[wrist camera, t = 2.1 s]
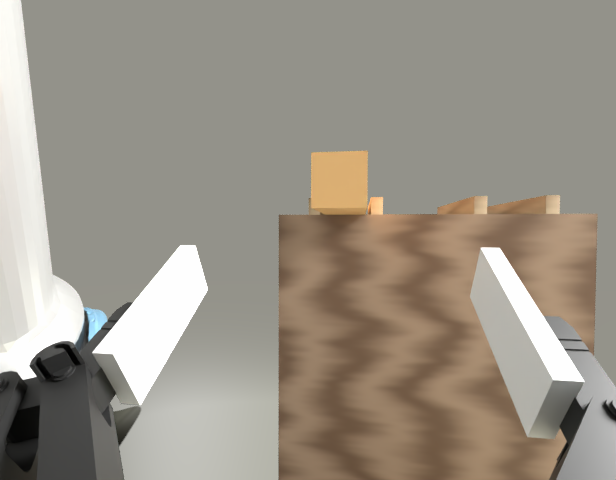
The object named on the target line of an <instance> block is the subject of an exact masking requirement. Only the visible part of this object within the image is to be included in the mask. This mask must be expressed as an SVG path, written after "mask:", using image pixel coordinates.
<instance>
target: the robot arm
mask: <svg viewBox="0 0 616 480" xmlns="http://www.w3.org/2000/svg"><path fill="white" fill-rule="evenodd" d="M28 68H29V67H28V59H27V50H26V42H25V33H24V24H23V16H22V8H21V0H0V480H124V475H123V469H122V463H121V457H120V451H119V445H118V438H117V432H116V426H115V420H114V414H113V408H112V406H111V405H110V402H111V400H112V399H113V397H114V396H115V394H116V395H117V397H118V399H119V401H120V402H121V404H129V405H141V403H142V402H143V400H144V398H145V397H146V395H147V393H148V391H149V390H150V388H151V386H152V384H153V383H154V381H155V379H156V378H157V376H158V374H159V373H160V371H161V369H162V367H163V366H164V364H165V362H166V360H167V359H168V357H169V355H170V354H171V352H172V350H173V348H174V347H175V345H176V343H177V342H178V340H179V338H180V336H181V335H182V333H183V331H184V329H185V328H186V326H187V324H188V323H189V321H190V319H191V317H192V316H193V314H194V312H195V311H196V309H197V307H198V305H199V304H200V302H201V300H202V299H203V297H204V295H205V293H206V292H207V290H208V289H207V285H206V282H205V278H204V275H203V271H202V268H201V264H200V260H199V257H198V253H197V250H196V246H194V245H181V246H180V247H179V248H178V249H177V250H176V252H175V253H174V254H173V255H172V256H171V258H170V259H169V260H168V261H167V262H166V264H165V265H164V266H163V267H162V269H161V270H160V271H159V272H158V273H157V275H156V276H155V277H154V278H153V279H152V281H151V282H150V283H149V284H148V286H147V287H146V288H145V289H144V290H143V292H142V293H141V294H140V295H139V297H138V298H137V299H136V300H135V301H134V303H126V304H124V305H123V306H122V307H120V308H119V309H117V310H116V311H115V312H114V313H113V314H112V316H111V317H110V318H109V319H108V321H107V317H106V315H105V313H104V312H102V311H101V310H94V309H90V308H83V305H82V302H81V299H80V297H79V295H78V293H77V292H76V291H75V289H74V288H73V287H71V286H70V285H69V284H68V283H66V282H65V281H63V280H62V279H60V278H58V277H56V276H54V275H52V266H51V258H50V250H49V242H48V232H47V223H46V216H45V206H44V198H43V189H42V180H41V171H40V163H39V154H38V146H37V137H36V128H35V121H34V120H35V119H34V111H33V102H32V93H31V85H30V77H29V69H28ZM470 298H471V301H472V303H473V306H474V308H475V310H476V313H477V315H478V318H479V320H480V323H481V325H482V328H483V330H484V332H485V335H486V337H487V340H488V342H489V345H490V347H491V350H492V352H493V354H494V357H495V359H496V362H497V364H498V367H499V369H500V372H501V374H502V376H503V379H504V381H505V384H506V386H507V389H508V391H509V394H510V396H511V398H512V401H513V403H514V406H515V408H516V411H517V413H518V416H519V418H520V420H521V423H522V425H523V428H524V430H525V433H526V435H527V437H533V438H545V439H555V437H556V435H557V433H558V431H559V429H561V431H562V433H563V435H564V437H565V439H566V441H567V442H566V444H565V446H564V448H563V449H562V451H561V453H560V455H559V456H558V458H557V463H556V465H555V468H554V470H553V472H552V474H551V476H550V479H549V480H616V387H615V386H614V384H613V383H612V381H611V380H610V378H609V377H608V376H607V374H606V373H605V371H604V370H603V369H602V367H601V366H600V364H599V363H598V362H597V360H596V359H595V357H594V356H593V355H592V353H591V352H589V349H588V348H587V346H586V345H585V343H584V342H582V339H581V338H580V336H579V335H578V334H577V332H576V331H575V329H574V328H573V327H572V326H571V325H569V324H568V323H567V322H566V321H564V320H563V319H562V318H560V317H559V316H543V315H542V314H541V312H540V311H539V309H538V307H537V306H536V304H535V303H534V301H533V300H532V298H531V296H530V295H529V293H528V292H527V290H526V289H525V287H524V285H523V284H522V282H521V281H520V279H519V278H518V276H517V274H516V273H515V271H514V270H513V268H512V267H511V265H510V263H509V262H508V260H507V259H506V257H505V256H504V254H503V252H502V251H501V249H500V248H481V249H480V253H479V258H478V262H477V267H476V271H475V276H474V280H473V285H472V289H471V294H470Z"/></svg>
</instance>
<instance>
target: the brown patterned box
mask: <svg viewBox="0 0 616 480" xmlns="http://www.w3.org/2000/svg"><path fill="white" fill-rule="evenodd" d="M596 247H597V214H560V195H546V196H541V197H536V198H530V199H526V200H520V201H515V202H510V203H505V204H499V205H494V206H489V207H487V196H474V197H471V198H467V199H464V200H461V201H457V202H454V203H451V204H447V205H444V206H441V207H438V213H437V214H420V215H419V214H410V215H409V214H407V215H406V214H399V215H397V214H395V215H392V214H388V215H383V197H372V198H371V200H370V203H369V206H368V215H325V214H323V213H321V212H319V211H316V210H314V209H312V208H311V198H309V215H279V480H549V479H550V476H551V474H552V472H553V470H554V468H555V465H556V463H557V458H558V456H559V455H560V453H561V451H562V449H563V448H564V446H565V444H566V442H567V441H566V439H565V437H564V435H563V433H562V431H561V429H559V431H558V433H557V435H556V437H555V439H545V438H533V437H527V435H526V433H525V430H524V428H523V425H522V423H521V420H520V418H519V416H518V413H517V411H516V408H515V406H514V403H513V401H512V398H511V396H510V394H509V391H508V389H507V386H506V384H505V381H504V379H503V376H502V374H501V372H500V369H499V367H498V364H497V362H496V359H495V357H494V354H493V352H492V350H491V347H490V345H489V342H488V340H487V337H486V335H485V332H484V330H483V328H482V325H481V323H480V320H479V318H478V315H477V313H476V310H475V308H474V306H473V303H472V301H471V298H470V294H471V289H472V285H473V280H474V276H475V271H476V267H477V262H478V258H479V253H480V249H481V248H500V249H501V251H502V252H503V254H504V256H505V257H506V259H507V260H508V262H509V263H510V265H511V267H512V268H513V270H514V271H515V273H516V274H517V276H518V278H519V279H520V281H521V282H522V284H523V285H524V287H525V289H526V290H527V292H528V293H529V295H530V296H531V298H532V300H533V301H534V303H535V304H536V306H537V307H538V309H539V311H540V312H541V314H542V315H543V316H559V317H560V318H562V319H563V320H564V321H566V322H567V323H568V324H569V325H571V326H572V327H573V328H574V329H575V331H576V332H577V334H578V335H579V336H580V338H581V339H582V342H584V343H585V345H586V346H587V348H588V349H589V352H591V353H592V355H593V356H594V330H595V329H594V327H595V291H596V290H595V289H596V250H597V248H596Z"/></svg>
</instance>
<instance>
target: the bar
mask: <svg viewBox="0 0 616 480" xmlns="http://www.w3.org/2000/svg"><path fill="white" fill-rule="evenodd" d="M367 159H368V151H345V152H344V151H343V152H312V153H311V208H312V209H314V210H316V211H319V212H321V213H323V214H325V215H365V214H366V210H367V176H368V175H367V174H368V171H367V170H368V160H367Z"/></svg>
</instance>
